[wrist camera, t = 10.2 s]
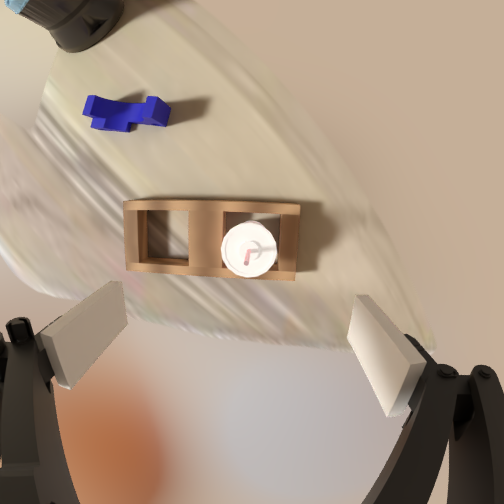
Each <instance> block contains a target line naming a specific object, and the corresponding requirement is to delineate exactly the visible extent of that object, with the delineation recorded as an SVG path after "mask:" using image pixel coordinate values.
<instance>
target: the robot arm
mask: <svg viewBox="0 0 504 504" xmlns="http://www.w3.org/2000/svg"><path fill="white" fill-rule="evenodd" d="M5 5H6V6H7V7H8V8H9V9H11V10H12V11H14V12H15V14H19V15H21V16H23V17H25V18H27V19H29V20H31V21H33V22H34V23H36V24H38V25H40V26H42V27H44V28H46V29H47V30H49V32H50V34H51V35H52V37H53V38H54V39H55V41H56V43H57V45H58V47H59V48H61V49H63V50H64V51H66V52H69V53H75V52H79V51H82V50H84V49H86V48H88V47H90V46H92V45H93V44H95V43H96V42H98V41H99V40H100V39H101V38H102V37H104V36H105V35H106V34H107V33H108V32H109V31H110V30H111V29H112V27H113V26H114V25H115V24H116V22H117V21H118V19H119V18H120V16H121V14H122V11H123V8H124V2H123V0H5ZM127 324H128V322H127V315H126V309H125V302H124V294H123V286H122V282H118V281H110V282H109V283H107V284H106V285H104V286H103V287H102V288H100V289H99V290H97V291H96V292H94V293H93V294H92V295H90V296H89V297H87V298H86V299H85V300H83V301H82V302H80V303H79V304H78V305H76V306H75V307H74V308H72V309H71V310H69V311H68V312H67V313H65V314H64V315H62V316H60V317H58V318H57V319H56V320H54V322H52V323H50V324H49V326H46V327H45V328H44V329H43V330H41V331H40V332H39V333H37V334H36V335H35V336H34V333H33V330H32V327H31V323H30V320H29V319H28V318H25V317H18V318H14V319H12V320H10V321H9V322H8V323H7V324H6V329H7V331H8V335H9V338H10V341H11V342H5V341H4V338H3V335H2V333H1V332H0V459H1V458H2V467H1V468H0V504H80V502H79V500H78V497H77V494H76V491H75V489H74V486H73V483H72V480H71V476H70V473H69V469H68V466H67V462H66V458H65V454H64V450H63V446H62V441H61V437H60V431H59V426H58V420H57V414H56V407H55V400H54V391H53V384H52V382H51V380H50V379H51V378H52V377H53V376H54V375H55V377H56V380H57V382H58V385H59V386H62V387H64V388H67V389H69V390H71V389H72V388H73V387H74V386H75V384H76V383H77V382H78V381H79V380H80V379H81V377H82V376H83V375H84V374H85V372H86V371H87V370H88V369H89V368H90V367H91V366H92V364H93V363H94V362H95V361H96V360H97V359H98V357H99V356H100V355H101V354H102V353H103V352H104V350H105V349H106V348H107V347H108V346H109V345H110V344H111V342H112V341H113V340H114V339H115V338H116V337H117V336H118V335H119V333H120V332H121V331H122V330H123V329H124V328H125V327H126V326H127ZM347 339H348V341H349V343H350V344H351V346H352V348H353V350H354V352H355V354H356V356H357V358H358V360H359V362H360V364H361V366H362V368H363V369H364V372H365V374H366V376H367V378H368V380H369V382H370V383H371V386H372V388H373V389H374V392H375V393H376V396H377V398H378V400H379V402H380V404H381V406H382V408H383V410H384V412H385V414H386V417H393V416H398V415H402V414H403V413H404V410H405V409H406V407H407V405H409V407H410V408H411V412H410V414H409V416H408V418H407V419H406V422H405V423H404V425H403V426H402V428H403V430H402V432H401V435H400V436H399V439H398V441H397V443H396V445H395V447H394V449H393V451H392V453H391V455H390V457H389V459H388V461H387V462H386V464H385V466H384V468H383V470H382V472H381V473H380V475H379V477H378V479H377V480H376V482H375V483H374V485H373V487H372V488H371V490H370V492H369V493H368V495H367V496H366V498H365V499H364V501H363V502H362V504H427V502H428V500H429V498H430V495H431V493H432V490H433V488H434V485H435V482H436V479H437V476H438V473H439V470H440V467H441V464H442V461H443V457H444V454H445V450H446V447H447V443H448V439H449V484H448V497H447V504H504V393H503V390H502V387H501V385H500V382H499V379H498V377H497V374H496V373H495V371H494V370H493V369H491V368H490V367H488V366H486V365H477V366H475V367H474V368H473V370H472V372H471V374H470V375H459V373H458V372H457V370H456V369H454V368H453V367H451V366H449V365H446V364H437V363H436V362H435V361H434V359H433V358H432V357H431V356H430V355H429V354H428V353H427V351H425V349H424V348H423V347H422V346H420V344H419V342H418V341H417V340H416V339H415V338H413V337H411V336H410V335H408V334H403V333H402V332H401V331H400V330H399V329H398V327H397V326H396V325H395V324H394V323H393V322H392V321H391V320H390V318H389V317H388V316H387V315H386V314H385V313H384V312H383V311H382V309H381V308H380V307H379V306H378V305H377V304H376V303H375V302H374V301H373V300H372V299H371V297H370V296H369V295H355V301H354V306H353V312H352V317H351V322H350V326H349V331H348V336H347Z"/></svg>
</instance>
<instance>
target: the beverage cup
mask: <svg viewBox="0 0 504 504" xmlns="http://www.w3.org/2000/svg"><path fill="white" fill-rule="evenodd" d="M221 253H222V259H223V261H224V263H225V264H226V266H227V268H228V269H230V270H231V271H232V272H234V273H235V274H236V275H239V276H243V277H246V278H248V277H257V276H259V275H261V274H263V273H265V272H267V271H268V270H269V268H270V267H271V266H272V265H273V264H274V261H275V258H276V255H277V249H276V242H275V240H274V238H273V236H272V234H271V233H270V231H268V230H267V229H266V228H265V227H264V226H263V225H262V224H261V223H259V222H257V221H246V222H244V223H241V224H239V225H237V226H235V227H233V228H232V229H230V230H229V232H228V233H227V234H226V236H225V237H224V238H223V242H222V246H221Z"/></svg>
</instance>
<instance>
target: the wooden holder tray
mask: <svg viewBox="0 0 504 504" xmlns="http://www.w3.org/2000/svg"><path fill="white" fill-rule="evenodd" d="M147 210H189V259H172V258H155V257H148V234H147ZM226 211H228V212H253V213H274V214H280V227H279V244H278V259H277V264H273V265H272V266H271V267H270V268H269V270H268V271H267V272H265V273H263V274H261V275H259V276H257V277H248V278H246V277H243V276H239V275H236V274H235V273H234V272H232V271H231V270H230V269H228V268H227V266H226V264H225V263H224V261H223V259H222V253H221V246H222V242H223V238H224V237H225V236H226ZM123 216H124V243H125V259H126V270H127V271H139V272H152V273H165V274H179V275H193V276H209V277H226V278H244V279H264V280H287V281H295V273H296V261H297V249H298V236H299V221H300V205H299V204H293V203H276V202H256V201H230V200H129V201H123Z"/></svg>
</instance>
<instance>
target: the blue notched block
mask: <svg viewBox="0 0 504 504" xmlns="http://www.w3.org/2000/svg"><path fill="white" fill-rule="evenodd" d="M170 111H171V107H169V106H168V105H167V104H166V103H165V102H163V101H162V100H161V99H160V98H159V97H155V96H148V97H147V100H146V103H125V102H118V101H113V100H108V99H104V98H101V97H98V96H96V95H89V96H88V97H87V100H86V104H85V107H84V110H83V114H82V115H85V116H88V117H91V118H93V120H92V124H91V128H95V129H98V130H106V131H119V132H130V128H131V125H132V123H134V124H145V125H155V126H163V127H166V126H167V122H168V118H169V115H170Z"/></svg>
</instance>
